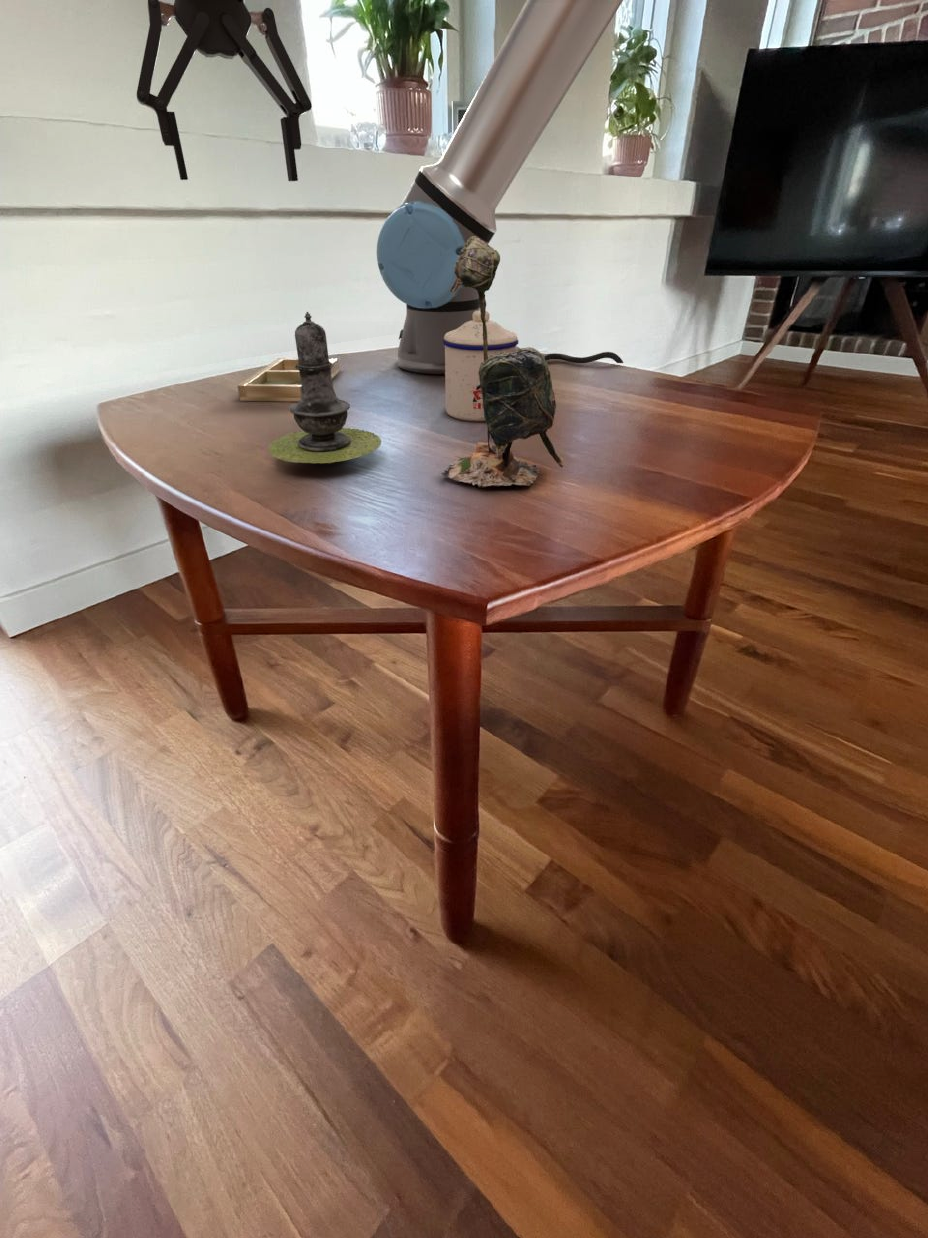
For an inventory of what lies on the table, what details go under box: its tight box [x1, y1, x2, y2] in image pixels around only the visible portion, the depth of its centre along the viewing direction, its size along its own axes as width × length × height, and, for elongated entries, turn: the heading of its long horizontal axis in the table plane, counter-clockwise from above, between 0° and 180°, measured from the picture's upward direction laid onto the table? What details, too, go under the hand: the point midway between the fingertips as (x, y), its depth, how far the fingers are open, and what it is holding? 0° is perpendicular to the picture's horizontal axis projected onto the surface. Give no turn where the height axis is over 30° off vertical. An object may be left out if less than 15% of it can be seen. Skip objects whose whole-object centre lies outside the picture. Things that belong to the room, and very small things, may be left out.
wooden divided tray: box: [237, 357, 340, 403], centre depth 90 cm, size 10×18×2 cm, turn 177°
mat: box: [268, 427, 382, 465], centre depth 63 cm, size 11×11×2 cm
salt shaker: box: [288, 311, 351, 451], centre depth 59 cm, size 6×6×12 cm
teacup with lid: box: [443, 310, 521, 422], centre depth 76 cm, size 12×9×12 cm
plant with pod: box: [441, 236, 565, 488], centre depth 54 cm, size 8×11×20 cm
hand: (240, 180), depth 80 cm, fingers open, 13 cm apart
